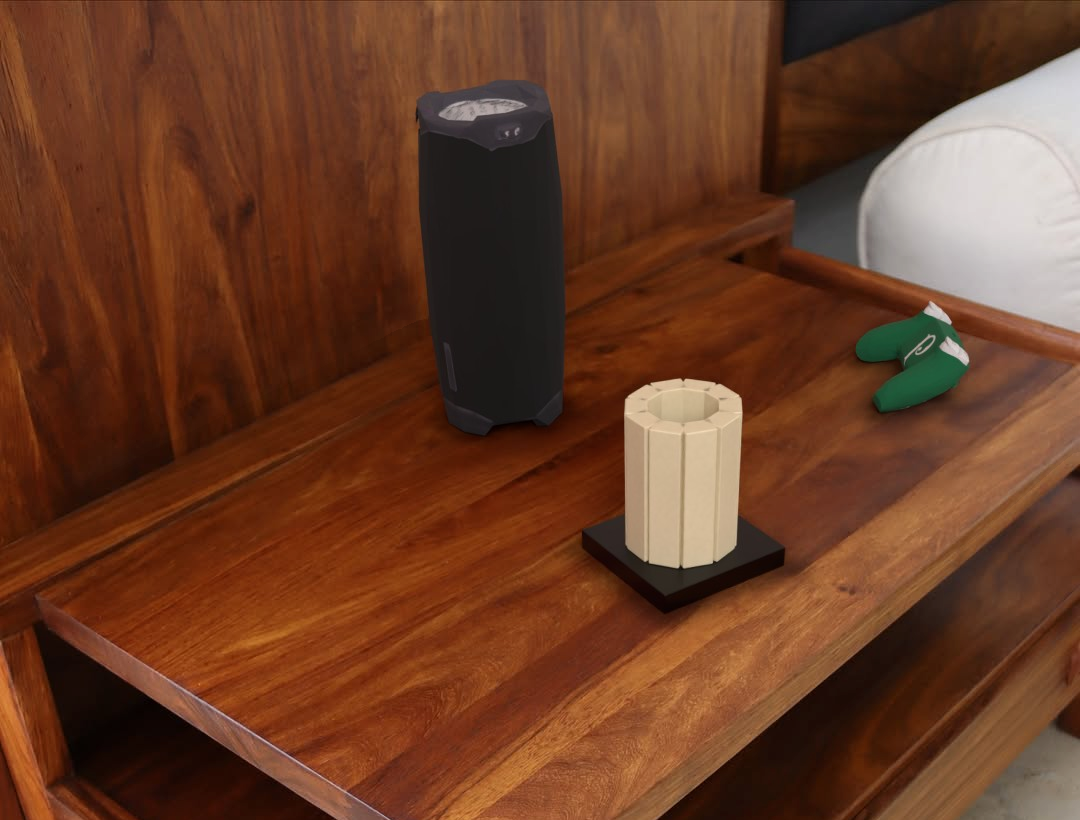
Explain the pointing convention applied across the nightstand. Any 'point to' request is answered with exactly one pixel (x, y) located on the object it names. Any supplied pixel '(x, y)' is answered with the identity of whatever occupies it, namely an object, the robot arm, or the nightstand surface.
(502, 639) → the nightstand surface
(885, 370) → the nightstand surface
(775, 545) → the stand
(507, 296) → the portable speaker
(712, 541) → the cream hollow cylinder
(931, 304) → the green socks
